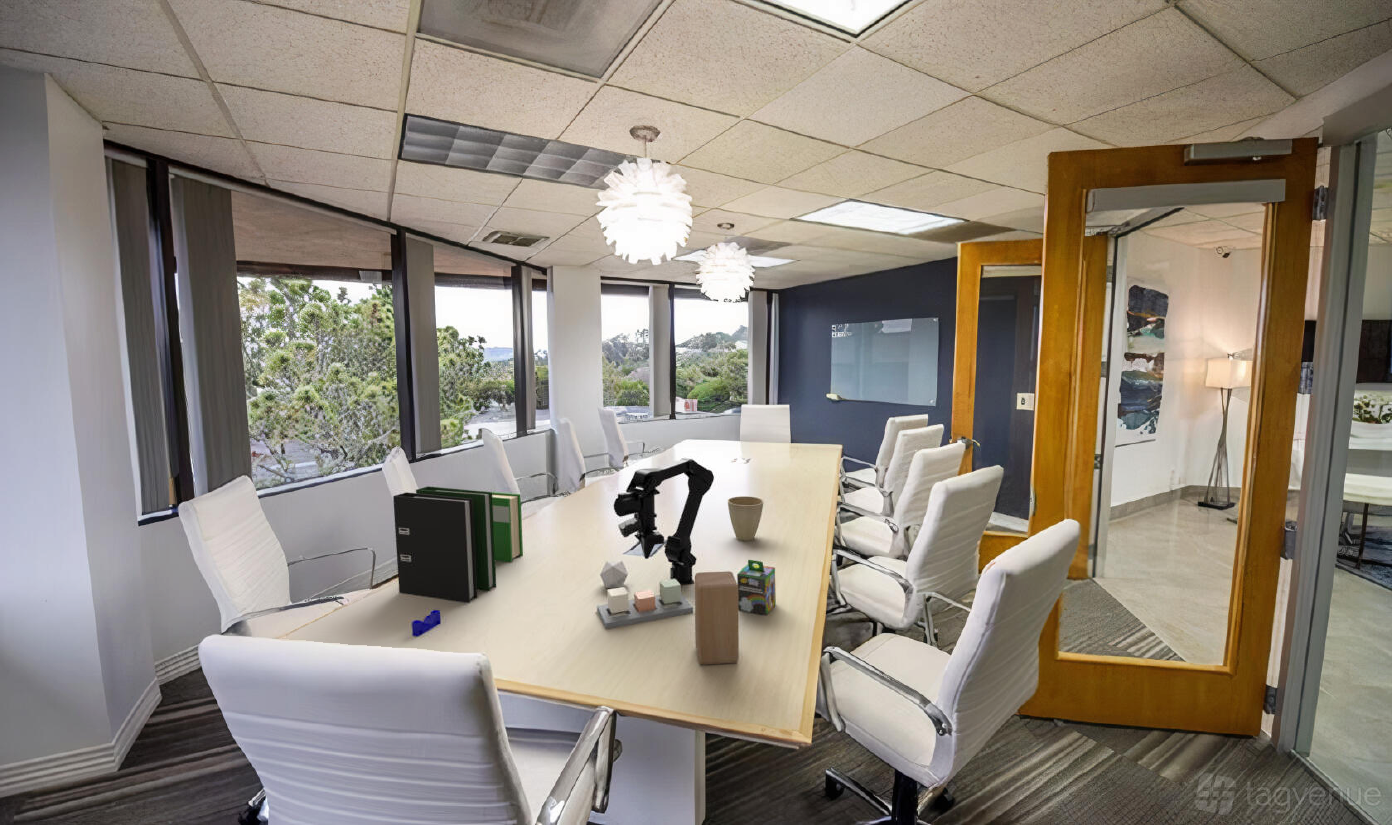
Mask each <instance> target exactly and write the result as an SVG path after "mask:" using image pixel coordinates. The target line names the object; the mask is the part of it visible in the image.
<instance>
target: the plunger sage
mask: <svg viewBox="0 0 1392 825" xmlns="http://www.w3.org/2000/svg"><path fill="white" fill-rule="evenodd" d="M681 587H682V585H680V584H679V582H678V581H677V580H676V579H665V580H660V581H659V595H660V598H661V599H662V601H663V602H664V604H665V605H666V604H671V603H677V602H678V601H681V594H682V593H681V592H682V590H681V589H682V588H681Z"/></svg>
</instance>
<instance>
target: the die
mask: <svg viewBox="0 0 1392 825" xmlns="http://www.w3.org/2000/svg"><path fill="white" fill-rule="evenodd" d="M628 575H629V573H628V571H627V569H626V566H625V564H624V562H623V560H606V562H605V564H604V566H603V568H602V570H601V571H600V574H599V576H600V579H601V580H602V582H603V585H604V587H605V589H615V588H621V587H624V583H625V582H626V579H627V577H628Z"/></svg>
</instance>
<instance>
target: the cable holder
mask: <svg viewBox="0 0 1392 825" xmlns="http://www.w3.org/2000/svg"><path fill="white" fill-rule="evenodd" d="M441 624H442V622H441V610H438V609H433V610H431V611H430V613H429V614H428V615H426V616H424V619H423V620H419V619H415V620H413V621H411V632H412V636H413V637H421V636H423V635H424V634H426V633H427V632H429V631H431V630H432V629H434V628H435V627H438V626H439V625H441Z"/></svg>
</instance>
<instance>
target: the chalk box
mask: <svg viewBox="0 0 1392 825" xmlns="http://www.w3.org/2000/svg"><path fill="white" fill-rule="evenodd" d="M736 576H737V578H736V580H737V581H736V583H737V585H738V611H742V612H748V613H752V614H757V615H760V616H764V617H765V616H767V615H768V613H769V612H770V611H771V610H772V608H773V607H774V606H775V605H776V604H777V602H776V600H777V599H776V568H775V567H774V566H768V565H764V562H763V561H761V560H754V559H748V560H747V565H744V567H743V568H742V569H741V570H740V571H739V572H738V573H737V575H736Z"/></svg>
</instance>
